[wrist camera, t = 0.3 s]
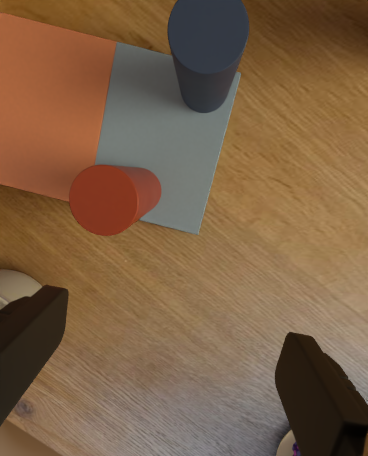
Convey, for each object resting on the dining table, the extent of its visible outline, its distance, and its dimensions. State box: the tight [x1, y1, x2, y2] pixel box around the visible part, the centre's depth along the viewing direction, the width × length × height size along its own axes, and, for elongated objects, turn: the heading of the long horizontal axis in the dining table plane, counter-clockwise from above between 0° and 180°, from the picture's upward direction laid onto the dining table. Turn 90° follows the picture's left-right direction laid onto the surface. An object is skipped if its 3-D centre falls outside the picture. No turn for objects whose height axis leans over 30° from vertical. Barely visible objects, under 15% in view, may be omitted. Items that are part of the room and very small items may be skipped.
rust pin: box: [69, 165, 161, 236], centre depth 24 cm, size 5×5×11 cm
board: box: [0, 12, 241, 235], centre depth 28 cm, size 16×24×1 cm, turn 76°
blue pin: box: [168, 0, 249, 113], centre depth 21 cm, size 5×5×11 cm
